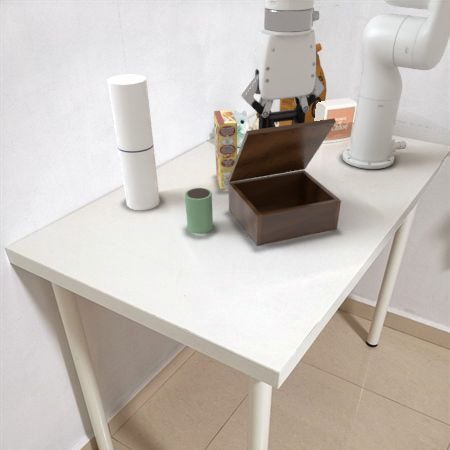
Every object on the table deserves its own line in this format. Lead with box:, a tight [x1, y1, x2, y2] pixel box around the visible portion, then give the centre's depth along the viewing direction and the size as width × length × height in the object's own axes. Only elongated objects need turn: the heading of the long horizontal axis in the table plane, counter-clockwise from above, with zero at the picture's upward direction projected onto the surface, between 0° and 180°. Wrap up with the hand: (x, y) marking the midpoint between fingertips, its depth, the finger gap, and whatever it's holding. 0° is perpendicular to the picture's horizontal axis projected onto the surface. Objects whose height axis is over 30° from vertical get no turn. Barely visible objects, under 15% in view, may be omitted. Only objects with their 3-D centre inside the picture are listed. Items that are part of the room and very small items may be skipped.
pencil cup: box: [184, 187, 214, 235], centre depth 90 cm, size 5×5×8 cm
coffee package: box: [278, 42, 328, 126], centre depth 129 cm, size 10×12×22 cm
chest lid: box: [228, 109, 337, 182], centre depth 89 cm, size 16×17×5 cm
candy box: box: [213, 109, 238, 190], centre depth 104 cm, size 9×4×15 cm, turn 8°
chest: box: [228, 169, 342, 247], centre depth 93 cm, size 15×17×7 cm
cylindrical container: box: [106, 73, 161, 211], centre depth 95 cm, size 7×7×25 cm
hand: (281, 134), depth 86 cm, fingers closed on chest lid, 5 cm apart
